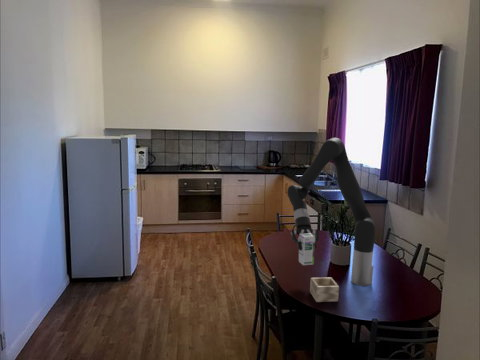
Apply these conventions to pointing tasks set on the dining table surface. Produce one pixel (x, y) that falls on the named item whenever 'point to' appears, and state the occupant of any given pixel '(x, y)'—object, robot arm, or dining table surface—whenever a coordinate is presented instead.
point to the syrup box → (307, 249)
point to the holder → (324, 289)
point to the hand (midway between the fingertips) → (307, 249)
